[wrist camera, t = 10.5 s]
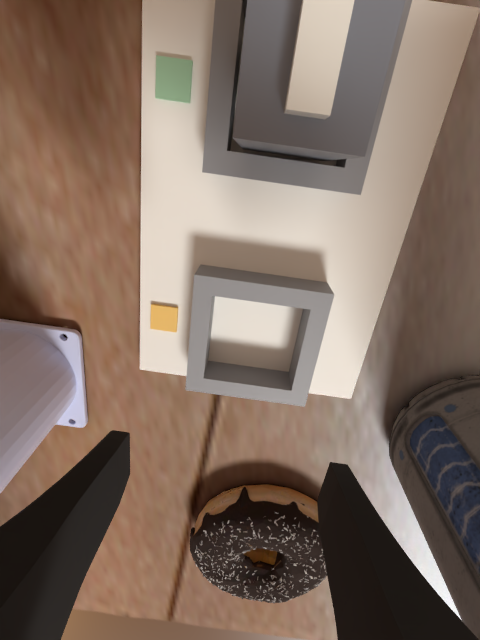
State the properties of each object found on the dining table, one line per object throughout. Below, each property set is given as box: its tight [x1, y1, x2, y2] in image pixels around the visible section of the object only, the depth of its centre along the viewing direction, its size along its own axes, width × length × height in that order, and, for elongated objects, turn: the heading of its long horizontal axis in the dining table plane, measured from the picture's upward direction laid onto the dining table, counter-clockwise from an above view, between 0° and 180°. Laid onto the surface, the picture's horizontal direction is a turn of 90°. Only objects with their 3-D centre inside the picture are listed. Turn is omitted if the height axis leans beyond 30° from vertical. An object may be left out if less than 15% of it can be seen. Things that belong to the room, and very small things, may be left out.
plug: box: [233, 0, 405, 161], centre depth 12 cm, size 4×4×8 cm
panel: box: [140, 0, 480, 407], centre depth 17 cm, size 14×20×3 cm
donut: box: [190, 484, 327, 603], centre depth 27 cm, size 11×12×4 cm
